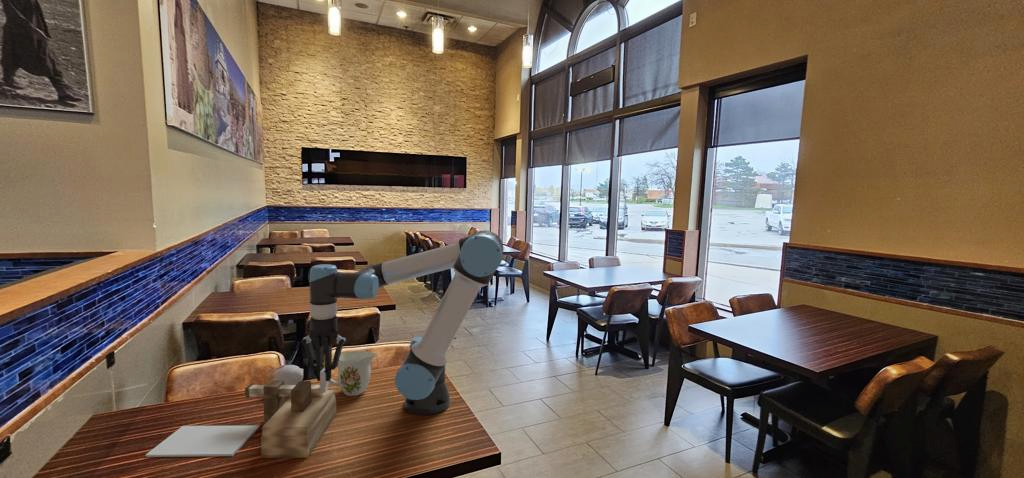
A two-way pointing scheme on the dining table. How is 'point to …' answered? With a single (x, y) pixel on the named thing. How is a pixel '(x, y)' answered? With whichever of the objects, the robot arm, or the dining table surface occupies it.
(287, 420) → the lid
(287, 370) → the toy
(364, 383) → the pitcher
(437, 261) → the robot arm
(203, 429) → the light grey flat board
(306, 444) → the light wood open box
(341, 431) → the dining table surface
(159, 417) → the dining table surface
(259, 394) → the beige wooden bar
